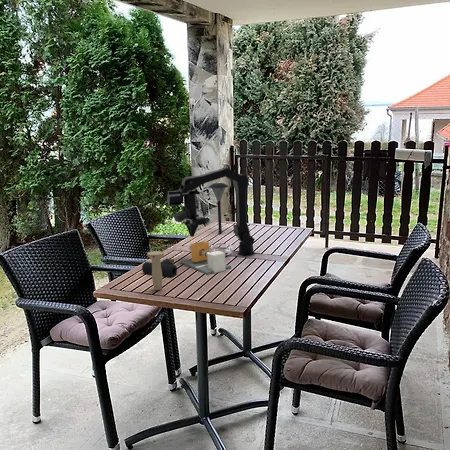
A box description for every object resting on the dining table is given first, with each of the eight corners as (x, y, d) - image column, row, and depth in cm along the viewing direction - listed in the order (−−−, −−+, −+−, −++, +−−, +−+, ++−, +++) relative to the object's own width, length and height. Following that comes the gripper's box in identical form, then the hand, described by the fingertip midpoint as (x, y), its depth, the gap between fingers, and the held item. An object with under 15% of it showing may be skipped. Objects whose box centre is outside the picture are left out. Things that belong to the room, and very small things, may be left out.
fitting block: (219, 267, 202) (218, 250, 200) (225, 270, 198) (224, 252, 196) (208, 270, 199) (207, 253, 197) (214, 273, 195) (213, 255, 193)
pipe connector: (156, 255, 206) (184, 259, 200) (157, 266, 207) (185, 270, 201) (141, 263, 196) (170, 267, 190) (142, 275, 197) (171, 278, 191)
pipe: (193, 249, 214) (192, 245, 214) (218, 259, 198) (218, 254, 197) (189, 250, 213) (188, 246, 213) (214, 260, 197) (214, 255, 196)
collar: (205, 257, 212) (205, 241, 210) (209, 258, 209) (208, 242, 207) (191, 260, 207) (190, 244, 205) (195, 262, 205) (194, 245, 203)
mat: (203, 257, 218) (203, 255, 218) (231, 268, 200) (231, 265, 200) (181, 263, 210) (180, 261, 210) (207, 274, 193) (207, 272, 193)
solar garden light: (206, 233, 267) (204, 183, 261) (225, 230, 272) (223, 181, 266) (214, 237, 257) (212, 185, 250) (234, 234, 261) (232, 183, 255)
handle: (152, 286, 181) (150, 251, 178) (167, 287, 180) (165, 251, 177) (148, 290, 177) (145, 254, 173) (163, 291, 175) (161, 254, 172)
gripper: (165, 204, 210) (167, 236, 214) (185, 209, 196) (187, 243, 199) (185, 201, 217) (187, 232, 220) (206, 205, 202) (208, 239, 205)
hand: (191, 236), depth 211 cm, fingers closed
